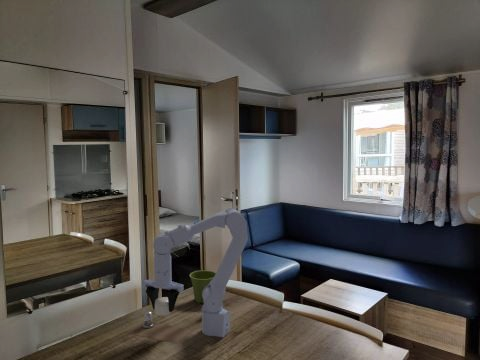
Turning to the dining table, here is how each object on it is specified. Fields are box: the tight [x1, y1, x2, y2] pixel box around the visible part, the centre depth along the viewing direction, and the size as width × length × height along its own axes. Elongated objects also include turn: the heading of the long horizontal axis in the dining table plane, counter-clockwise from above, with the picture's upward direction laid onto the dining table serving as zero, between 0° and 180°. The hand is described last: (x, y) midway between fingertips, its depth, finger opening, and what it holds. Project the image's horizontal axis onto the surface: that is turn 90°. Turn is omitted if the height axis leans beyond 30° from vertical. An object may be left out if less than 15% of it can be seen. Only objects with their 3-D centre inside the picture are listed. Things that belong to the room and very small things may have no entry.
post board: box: [126, 310, 192, 345], centre depth 129 cm, size 20×10×6 cm, turn 69°
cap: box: [154, 296, 173, 316], centre depth 126 cm, size 6×6×4 cm
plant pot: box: [189, 270, 217, 304], centre depth 159 cm, size 12×12×11 cm
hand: (163, 309), depth 126 cm, fingers closed on cap, 6 cm apart
